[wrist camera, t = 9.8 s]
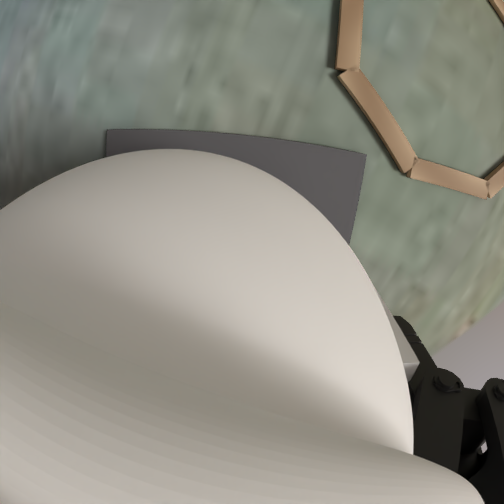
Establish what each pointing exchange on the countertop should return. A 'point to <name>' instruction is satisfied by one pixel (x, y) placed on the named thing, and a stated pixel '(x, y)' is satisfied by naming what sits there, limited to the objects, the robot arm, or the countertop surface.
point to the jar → (196, 346)
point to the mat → (270, 164)
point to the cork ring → (386, 123)
